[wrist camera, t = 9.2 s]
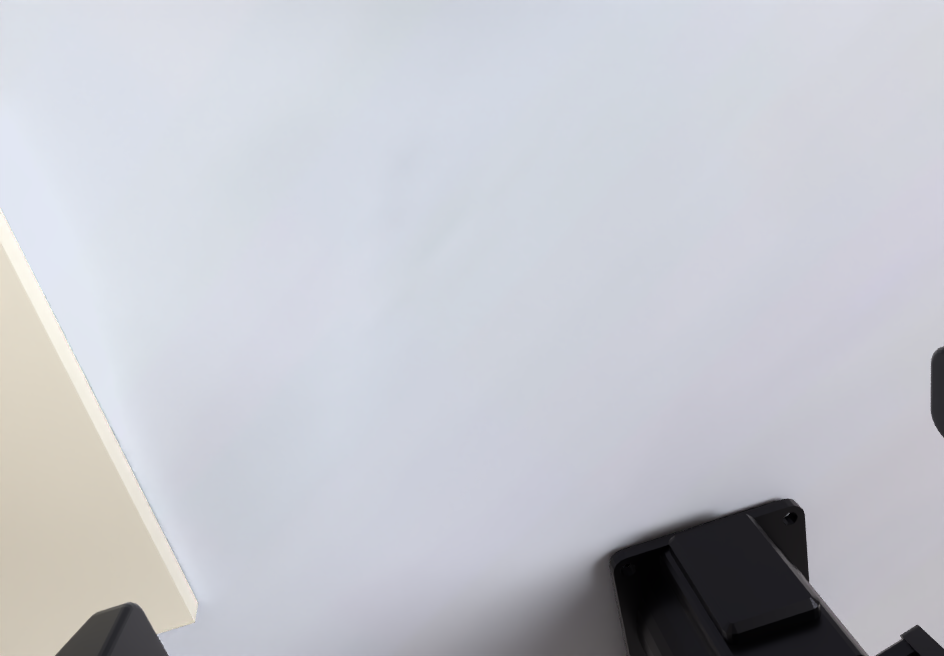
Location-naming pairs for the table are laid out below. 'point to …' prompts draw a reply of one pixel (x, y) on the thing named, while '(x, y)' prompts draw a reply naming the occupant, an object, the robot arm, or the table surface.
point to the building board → (66, 490)
